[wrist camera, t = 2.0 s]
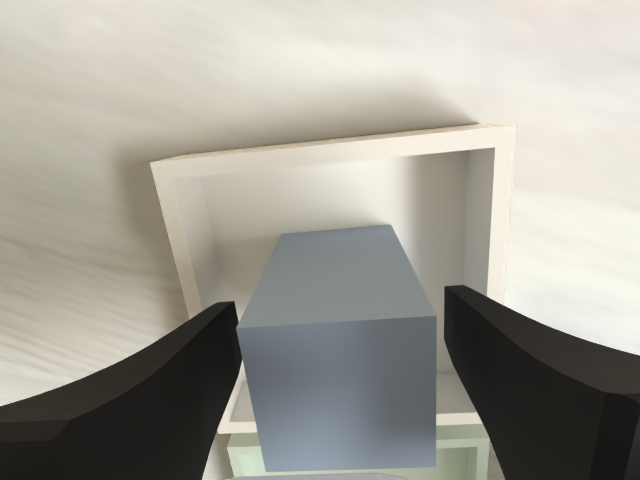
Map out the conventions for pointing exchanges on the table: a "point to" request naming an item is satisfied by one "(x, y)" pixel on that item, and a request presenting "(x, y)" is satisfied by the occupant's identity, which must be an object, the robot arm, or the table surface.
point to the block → (341, 354)
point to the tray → (448, 476)
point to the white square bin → (345, 221)
